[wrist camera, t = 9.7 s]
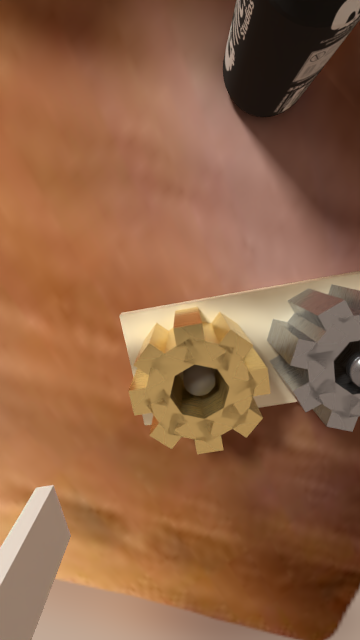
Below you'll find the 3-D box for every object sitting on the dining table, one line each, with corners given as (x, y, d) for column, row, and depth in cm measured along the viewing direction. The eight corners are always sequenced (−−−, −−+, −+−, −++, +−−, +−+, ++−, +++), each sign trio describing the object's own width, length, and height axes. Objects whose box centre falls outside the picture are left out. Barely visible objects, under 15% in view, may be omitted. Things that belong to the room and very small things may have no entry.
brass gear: (130, 318, 27) (115, 338, 21) (243, 298, 26) (260, 313, 20) (153, 418, 29) (145, 461, 23) (257, 402, 28) (276, 442, 22)
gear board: (122, 312, 28) (108, 327, 23) (376, 268, 26) (421, 272, 21) (146, 418, 30) (138, 452, 25) (379, 381, 29) (421, 409, 24)
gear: (247, 324, 27) (269, 351, 20) (351, 262, 25) (413, 267, 18) (299, 411, 28) (336, 462, 22) (399, 357, 27) (471, 393, 20)
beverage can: (221, 23, 22) (264, -220, 11) (310, 20, 22) (448, -228, 11) (221, 122, 24) (257, 2, 12) (303, 120, 24) (419, -3, 12)
